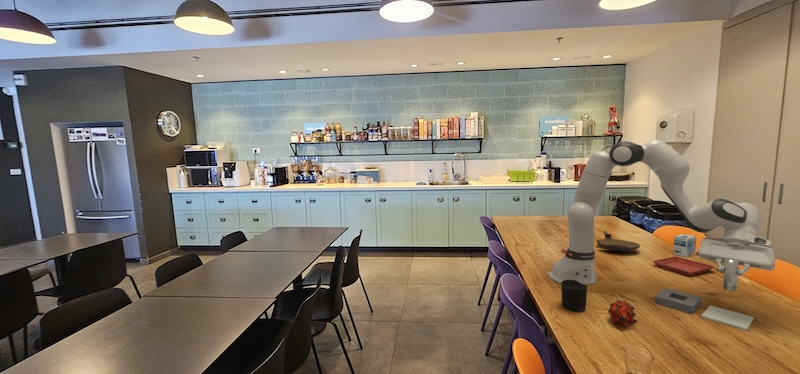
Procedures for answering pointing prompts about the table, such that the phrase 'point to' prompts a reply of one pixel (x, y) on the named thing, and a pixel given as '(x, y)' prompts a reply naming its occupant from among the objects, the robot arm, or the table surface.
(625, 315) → the dragon fruit
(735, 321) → the pad
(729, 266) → the peg
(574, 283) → the pen holder
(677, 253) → the light bulb box
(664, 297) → the square socket
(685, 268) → the plant saucer
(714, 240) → the robot arm
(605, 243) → the frying pan
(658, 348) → the table surface
